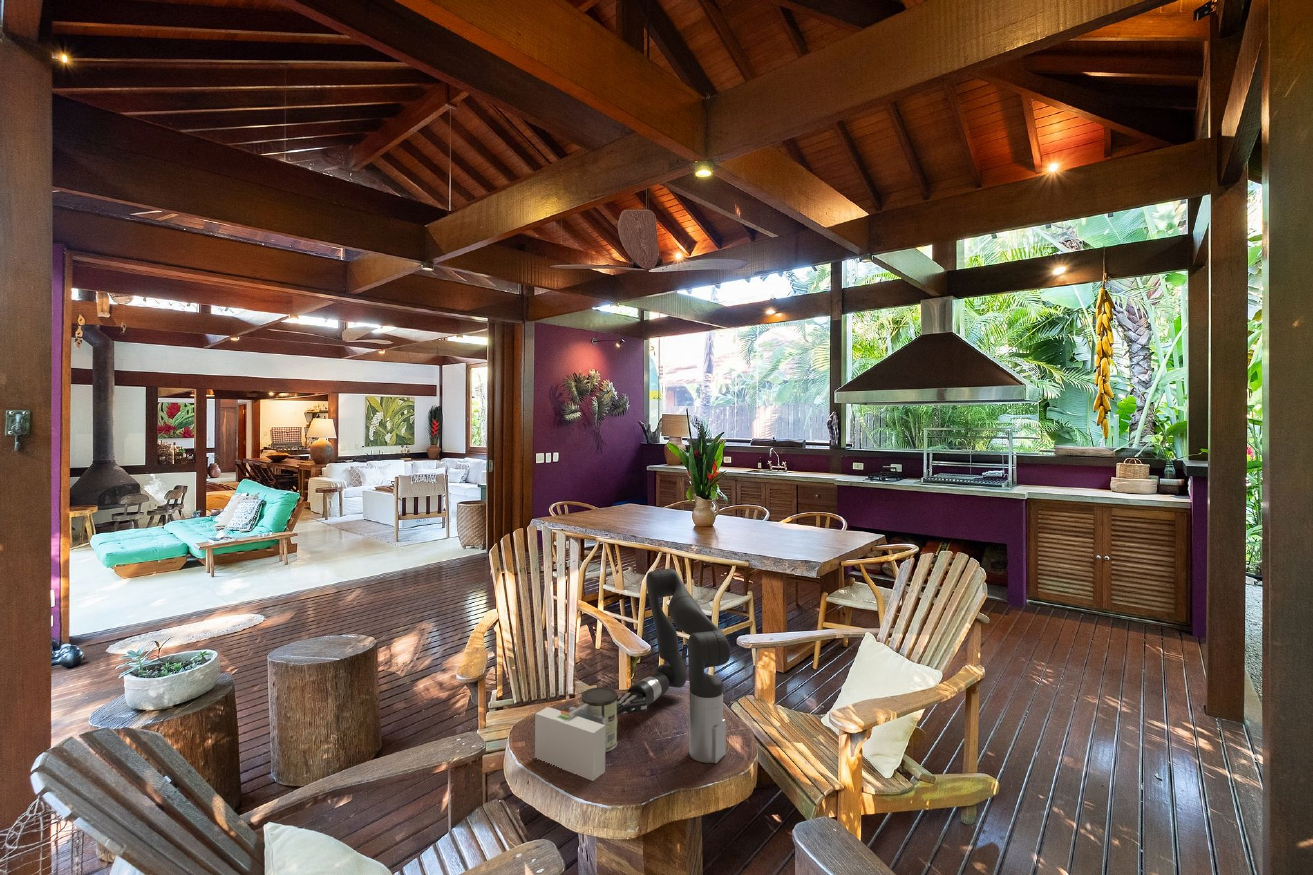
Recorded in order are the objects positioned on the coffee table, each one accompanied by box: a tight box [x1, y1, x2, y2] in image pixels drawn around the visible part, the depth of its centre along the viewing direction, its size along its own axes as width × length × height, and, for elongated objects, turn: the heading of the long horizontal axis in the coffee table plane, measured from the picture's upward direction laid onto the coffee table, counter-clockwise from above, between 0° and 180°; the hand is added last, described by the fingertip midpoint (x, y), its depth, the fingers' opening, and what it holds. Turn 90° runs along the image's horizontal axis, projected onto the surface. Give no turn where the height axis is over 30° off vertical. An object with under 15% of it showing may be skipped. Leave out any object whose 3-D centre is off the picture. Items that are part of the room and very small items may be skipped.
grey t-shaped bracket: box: [560, 703, 606, 751], centre depth 159 cm, size 12×8×11 cm, turn 58°
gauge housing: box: [534, 706, 606, 782], centre depth 156 cm, size 20×5×12 cm, turn 58°
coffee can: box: [580, 686, 619, 753], centre depth 167 cm, size 10×10×14 cm
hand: (612, 713), depth 172 cm, fingers closed
